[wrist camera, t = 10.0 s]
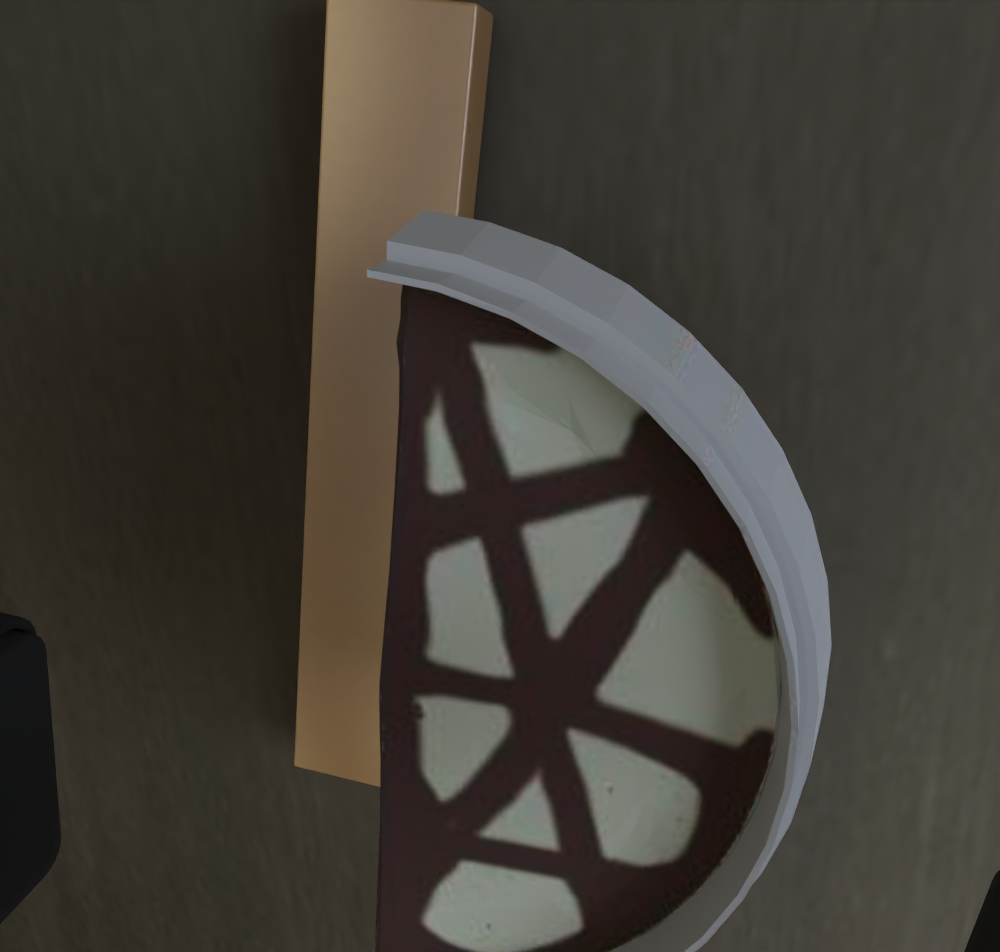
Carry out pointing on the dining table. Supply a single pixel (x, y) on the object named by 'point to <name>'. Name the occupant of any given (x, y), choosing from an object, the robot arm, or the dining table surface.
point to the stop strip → (371, 333)
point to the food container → (581, 614)
